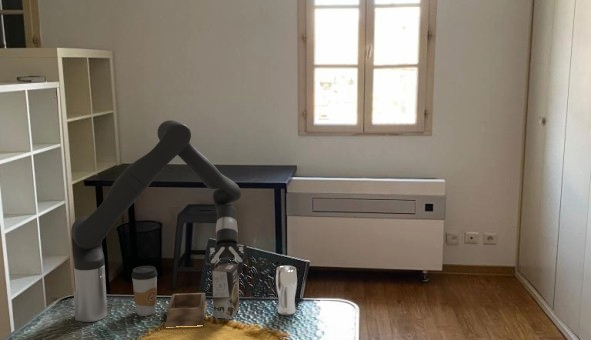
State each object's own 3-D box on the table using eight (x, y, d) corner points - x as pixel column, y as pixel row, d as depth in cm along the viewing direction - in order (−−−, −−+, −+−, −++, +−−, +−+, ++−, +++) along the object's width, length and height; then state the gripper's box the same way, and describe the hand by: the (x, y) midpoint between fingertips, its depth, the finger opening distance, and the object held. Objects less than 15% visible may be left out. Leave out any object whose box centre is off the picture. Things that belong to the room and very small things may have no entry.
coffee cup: (143, 319, 179) (141, 274, 177) (128, 313, 184) (125, 270, 182) (164, 311, 185) (162, 268, 183) (148, 305, 190) (146, 263, 188)
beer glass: (297, 307, 188) (297, 265, 186) (295, 316, 181) (295, 272, 179) (277, 307, 189) (277, 264, 187) (275, 315, 182) (274, 271, 180)
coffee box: (231, 320, 178) (230, 271, 176) (212, 318, 179) (211, 270, 177) (240, 309, 187) (239, 263, 185) (222, 308, 188) (220, 262, 186)
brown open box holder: (164, 328, 172) (163, 313, 171) (172, 304, 191) (172, 290, 191) (203, 327, 173) (202, 312, 172) (207, 303, 192) (207, 289, 192)
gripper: (205, 228, 191) (204, 270, 181) (246, 226, 192) (248, 268, 182) (207, 239, 196) (206, 280, 187) (247, 237, 198) (248, 278, 188)
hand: (226, 274), depth 184 cm, fingers open, 8 cm apart
